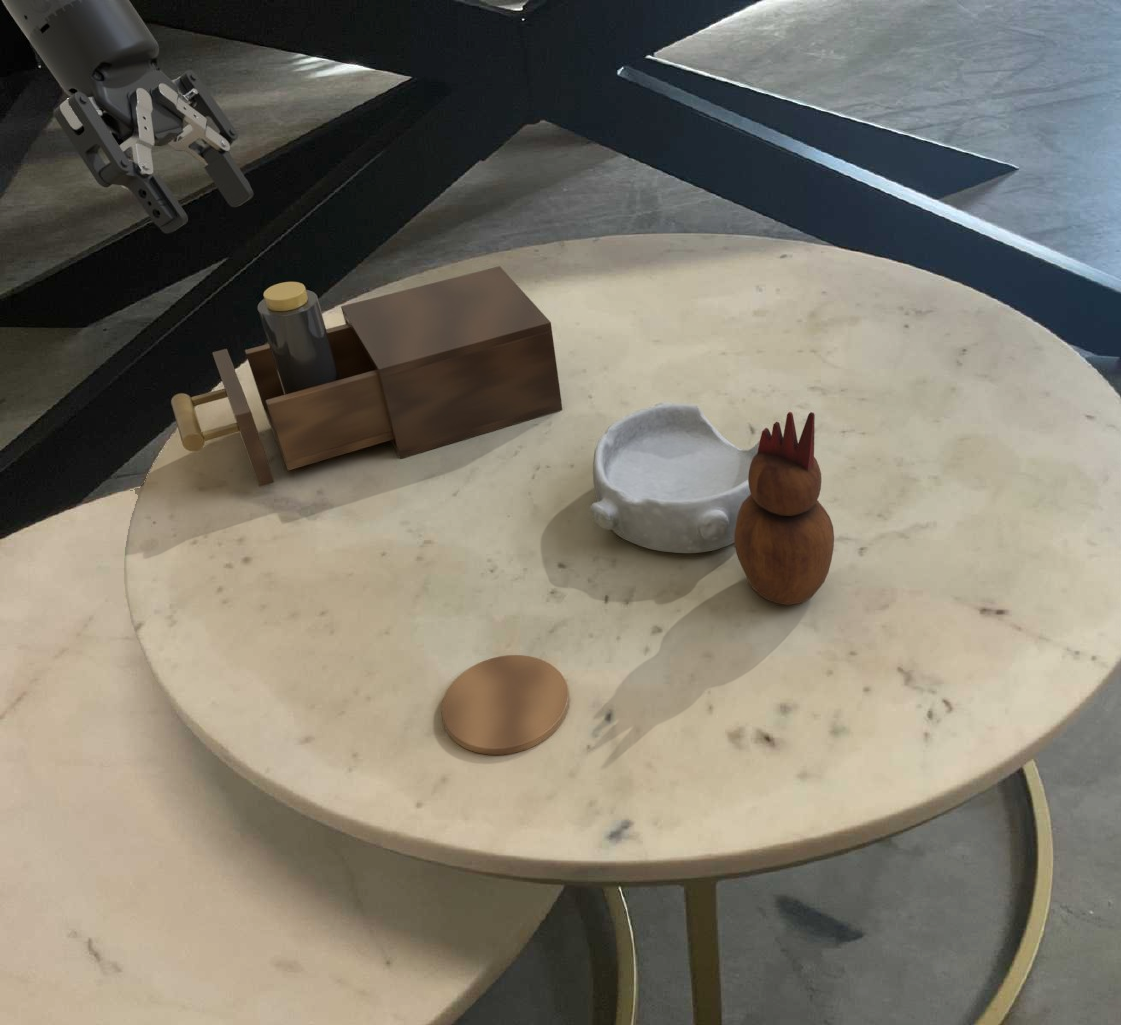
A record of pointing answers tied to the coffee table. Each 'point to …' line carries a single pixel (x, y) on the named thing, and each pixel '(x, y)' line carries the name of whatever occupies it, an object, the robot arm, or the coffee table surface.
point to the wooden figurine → (785, 518)
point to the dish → (670, 480)
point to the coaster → (505, 704)
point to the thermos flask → (297, 337)
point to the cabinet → (458, 358)
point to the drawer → (297, 408)
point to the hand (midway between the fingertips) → (212, 214)
